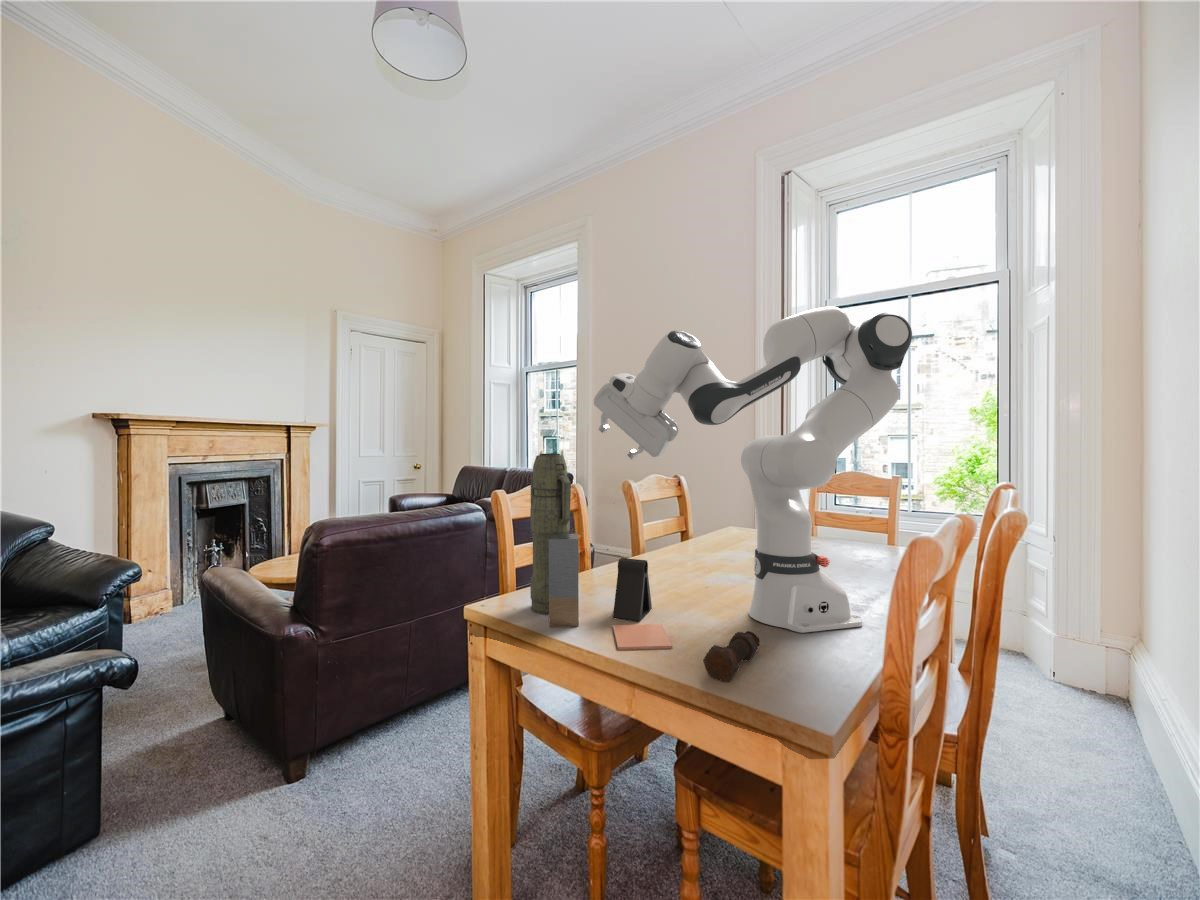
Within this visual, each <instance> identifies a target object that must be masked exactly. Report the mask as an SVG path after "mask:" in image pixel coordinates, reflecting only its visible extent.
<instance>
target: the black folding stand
mask: <svg viewBox="0 0 1200 900" xmlns="http://www.w3.org/2000/svg"><path fill="white" fill-rule="evenodd" d="M648 570H649V563H648V560H645V559H638V558H637V559H635V558H626V557H624V558H623V557H620V558H619V559H618V561H617V579H616V587H615V596H614V603H613V604H614V605H613V613H612V619H614V618H616V619H615V620H622V621H629V622H636V623H641V622H642V620H643V619H644V618H645V617H646V616H647V615H649V613H650V612H651V611H652V610H653V606H652V599H651V596H652V595H651V588H650V581H649V579H650V578H649V571H648ZM651 609H652V610H651ZM650 610H651V611H650Z"/></svg>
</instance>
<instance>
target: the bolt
mask: <svg viewBox="0 0 1200 900" xmlns="http://www.w3.org/2000/svg"><path fill="white" fill-rule="evenodd" d="M760 642H761V639H760V637H759V636H758V635H757V634H755V633H754V632H752V631H748V630H747V631H745V632H743V631H736V632H735V633H734V634H733V636H732V637H731V639H730V640H729V642H728V645H726V646H725V647H724V646H721V645H716V644H713V645H712V646H711V647H710V649H709V650H708V651H707V653H706V654H705V656H704V658H703V665H704V668H705V670H706V673H707V675H708V676H709V677H710V678H711V679H713V680H716V681H719V682H722V683H730V682H731V681H732V680H733V678H734V677H735V675H736V674H737V673H738V671H739V669H740V668H741V667H740V663H741V662H742V661H744V660H747V661H746V662H749V661H751V660H752V659H753V657H754V656H755V655H756V654H757V651H758V650H759V646H760V645H761V644H760ZM751 658H752V659H751ZM750 659H751V660H750Z"/></svg>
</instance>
